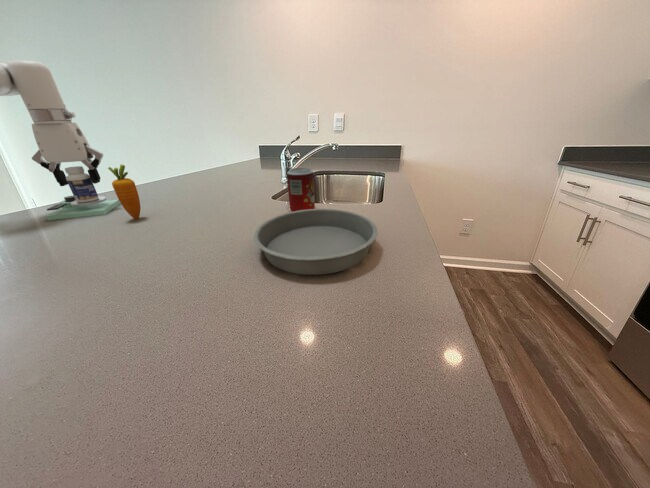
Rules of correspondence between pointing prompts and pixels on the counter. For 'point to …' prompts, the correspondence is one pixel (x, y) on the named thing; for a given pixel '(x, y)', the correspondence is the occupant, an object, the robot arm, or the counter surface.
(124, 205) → the carrot
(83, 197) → the pill bottle
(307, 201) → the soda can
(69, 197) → the tare button
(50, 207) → the scale display
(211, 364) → the counter surface
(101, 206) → the scale
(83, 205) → the weighing plate
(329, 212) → the cake pan
